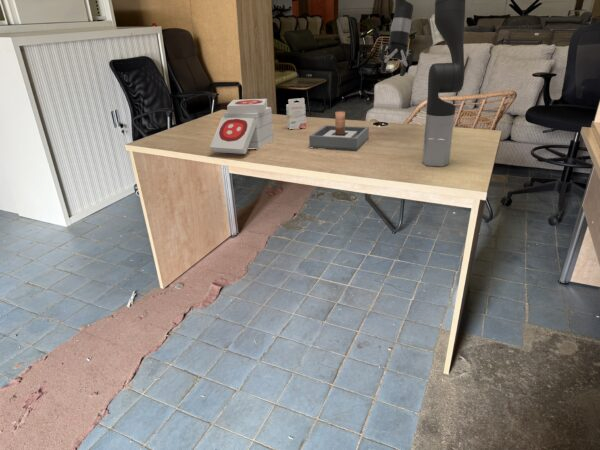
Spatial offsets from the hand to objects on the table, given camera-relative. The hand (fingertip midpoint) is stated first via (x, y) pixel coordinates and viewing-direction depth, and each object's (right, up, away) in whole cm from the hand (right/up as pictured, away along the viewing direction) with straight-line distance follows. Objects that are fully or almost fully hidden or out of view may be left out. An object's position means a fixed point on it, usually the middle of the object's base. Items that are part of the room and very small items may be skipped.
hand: (392, 74), depth 172 cm
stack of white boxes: (-61, -29, +7) cm, 68 cm away
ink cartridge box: (-39, -14, +36) cm, 55 cm away
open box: (-21, -27, +7) cm, 35 cm away
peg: (-21, -26, +7) cm, 34 cm away
